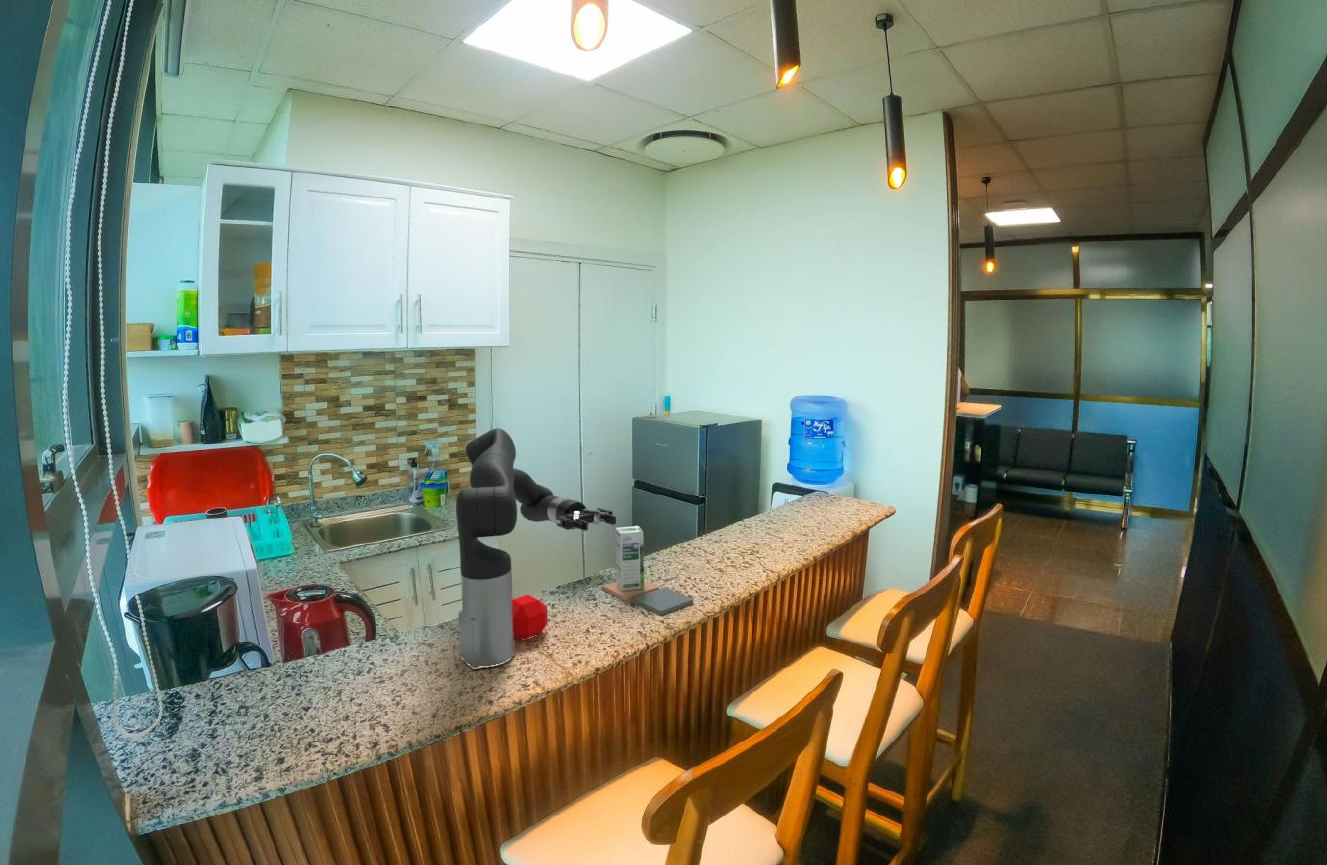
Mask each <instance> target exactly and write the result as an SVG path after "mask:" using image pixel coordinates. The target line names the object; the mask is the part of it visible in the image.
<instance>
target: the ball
mask: <svg viewBox="0 0 1327 865" xmlns="http://www.w3.org/2000/svg"><path fill="white" fill-rule="evenodd" d="M512 600H513V627H514V637H516V636H517V637H516V638H518V639H520V640H521V639H527V638H529V637H532V636H535V635H537V636H539V635H538V634H540V635H541V634H542V632H543V631H544V630H545V629H546V627H547V624H548V621H549V620H548V619H547V618H548V606H547V605H546V604H544V602H542V601H540V600H539V599H538V598H536V597H534V596H532V595H530V594H525V595H522V596H518V597H515V598H512ZM535 637H536V636H535ZM532 638H533V637H532ZM529 639H530V638H529ZM527 640H528V639H527Z"/></svg>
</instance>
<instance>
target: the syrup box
mask: <svg viewBox="0 0 1327 865" xmlns="http://www.w3.org/2000/svg"><path fill="white" fill-rule="evenodd" d="M644 539H645V538H644V531H643V529H642V528H641V527H640V526H639V525H634V526H623V527H621V526H620V527H615V554H616V555H615V556H616V557H615V558H616V559H615V560H616V581H617V584H618V586H619V587H620V589H621V591H625V590H634V589H644V581H645V565H644V564H645V561H644V560H645V559H644V558H645V556H644V553H645V549H644V547H645V546H644V545H645V544H644V543H645V541H644Z"/></svg>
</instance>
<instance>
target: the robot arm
mask: <svg viewBox="0 0 1327 865" xmlns="http://www.w3.org/2000/svg"><path fill="white" fill-rule="evenodd" d="M465 453H466V456H467V458H468V461H469V462H470V464H471V468H470V469H471V470H470V475H469V484H470V487H466V488H462V489H460V490H459V492H458V494H457V496H456V499H455V513H456V514H455V516H456V524H457V525H456V526H457V532H458V543H459V555H460V556H459V558H460V566H459V568H460V584H461V604H462V605H461V607H462V608H461V609H462V610H459V612H458V626H459V627H458V630H459V631H458V632H459V633H458V634H459V649H460V658H461V657H462V658H463V659H464V660H465V661H466V662H467V663H468V664H470V666H472V667H473V668H477V667H479V666H491V665H496V664H500V663H503V662H505V661H507V660H508V659H510V658H511V657H512V656H513V654H514V655H515V635H514V627H513V600H512V599H513V578H512V576H513V575H512V558H511V555H510V554H509V553H508V552H507V551H505V550H502V549H499V548H495V547H494V546H493V547H492V546H490V545H487V544H485V543H484V542H482V541H480V540H479V539H478V538H489V537H500V536H505V535H509V534H511V533H512V532H513V531H514V530H515V527H516V525H517V522H518V521H517V520H518V504H517V503H519V504H521V505H520V508H519V509H520V510H519V511H520V514H521V515H522V517H523V518H524V519H526V520H528V521H531V522H536V523H538V522H539V523H540V522H547V521H549V522H552V523H554V524H556V526H558V528H559V527H560V528H562V529H564V530H568V531H569V530H577V529H579V530H581V531H584V532H585V531H588V529H589V525H599V524H600V523H605V524H608V525H611V526H615V525H616V524H617V517H616V516H615V515H613V514H614V513H613V511H612V510H609V509H605V508H601V507H598V508H596V509H589V508H587V506H586V505H585V504H584V503H582V502H581V501H577V500H574V499H570V498H567V497H559V496H557V495H554V493H553V492H552V491H551V490H550V488H548V487H546V486H544V485H541V484H537V483H536V481H535V480H534V479H533V478H532V477H531V476H530V474H528V473H527V472H525V471H523V470H521V469H517V468H514V463H515V460H516V456H517V450H516V446H515V443H514V441H513V439H512V437H511V436H510V434H508V432H507V431H505V430H504V429H503V428H502V429H501V428H493V429H490V430H488V431H487V432H485V433H483V434H482V435H480V436H478V437H476V438H475V439H472V440H471V441H470V442H467V444H466V447H465ZM595 517H596V518H595ZM595 519H596V520H595ZM470 666H469V667H470Z"/></svg>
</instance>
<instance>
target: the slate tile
mask: <svg viewBox="0 0 1327 865" xmlns="http://www.w3.org/2000/svg"><path fill="white" fill-rule="evenodd" d="M632 603H634V604H636V605H637V606H640V607H642V608H645V609H647V610H649V611H651V612H652V613H655V614H657V615H658V616H663V615H666V614H668V613H672V612H674V611H677V610H679V609H682V608H684V607H687V606H690V605H693V604H694V599H693V598H691V597H689V596H687V595H684V594H683V593H680V592H677V591H675V590H672V589H670V588H667V587H666V586H664V587H661V588H659V589H658V590H655V591H652V592H649V593H646V594H643V595H640V596H637V597H634V598H633V600H632Z"/></svg>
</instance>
